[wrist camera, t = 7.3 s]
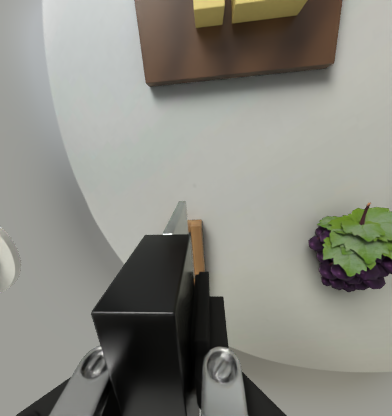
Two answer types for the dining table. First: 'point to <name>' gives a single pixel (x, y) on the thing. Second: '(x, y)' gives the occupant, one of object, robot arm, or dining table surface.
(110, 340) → the knife
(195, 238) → the knife stand
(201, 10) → the butter pat
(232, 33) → the butter board
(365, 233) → the fruit
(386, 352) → the dining table surface
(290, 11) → the butter
